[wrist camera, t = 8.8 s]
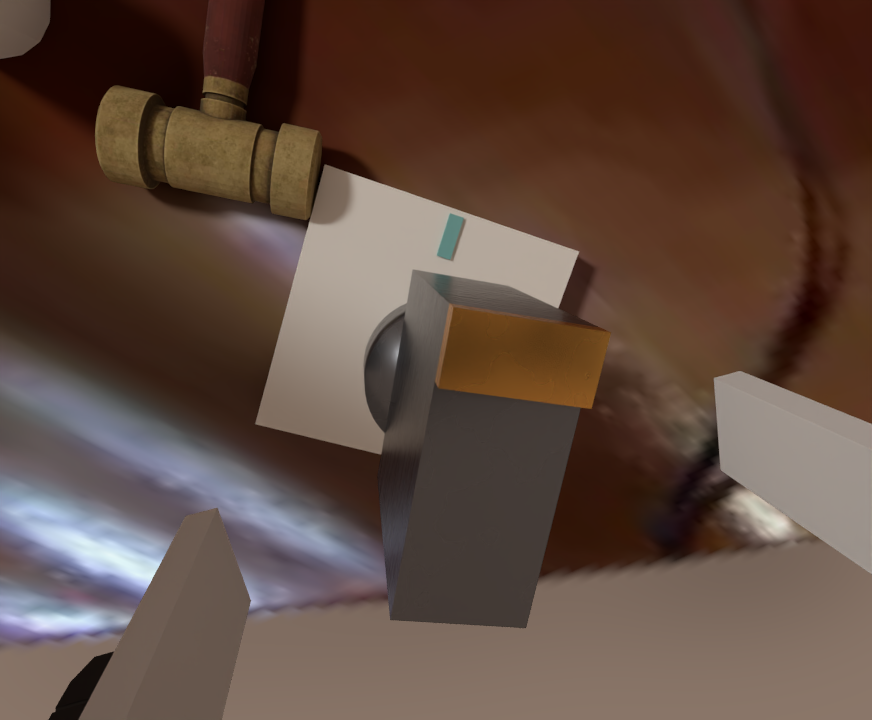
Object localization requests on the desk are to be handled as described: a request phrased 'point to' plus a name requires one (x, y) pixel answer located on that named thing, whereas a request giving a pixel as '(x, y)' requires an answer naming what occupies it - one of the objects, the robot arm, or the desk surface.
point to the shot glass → (22, 25)
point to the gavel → (212, 129)
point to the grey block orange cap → (474, 442)
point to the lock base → (379, 295)
